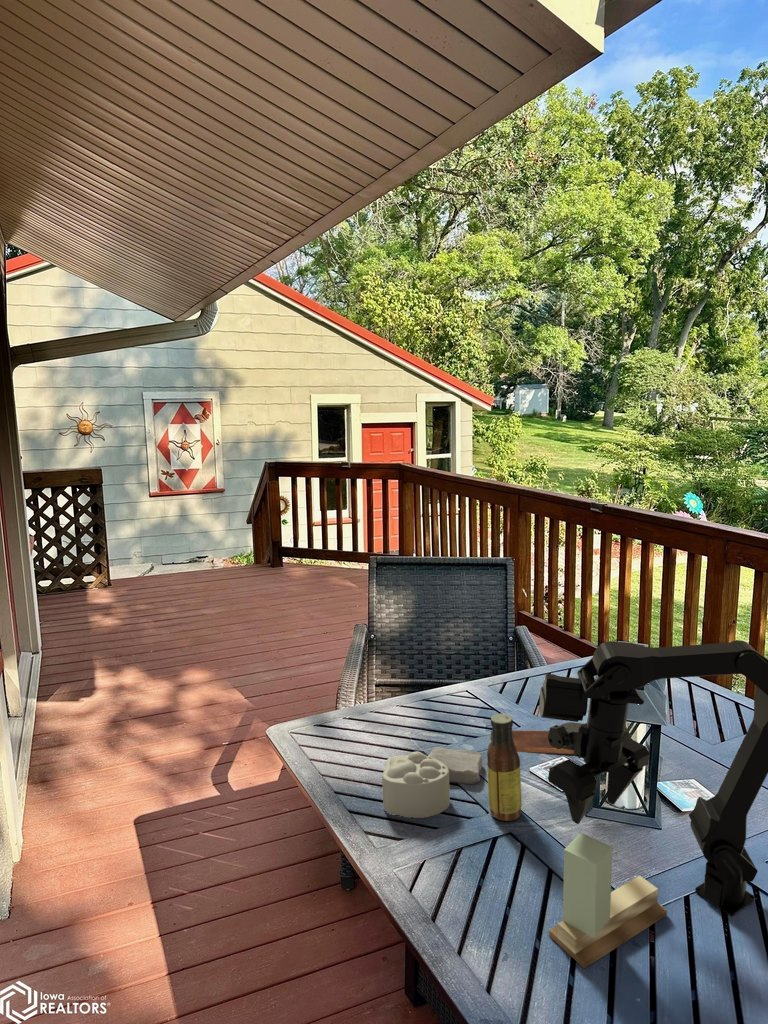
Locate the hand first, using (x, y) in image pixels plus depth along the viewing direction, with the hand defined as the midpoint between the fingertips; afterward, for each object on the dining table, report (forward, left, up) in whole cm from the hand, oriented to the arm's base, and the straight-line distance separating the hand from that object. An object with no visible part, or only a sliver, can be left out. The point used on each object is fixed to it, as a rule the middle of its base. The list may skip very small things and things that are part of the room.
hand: (593, 812), depth 111 cm
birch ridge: (+4, +7, -14) cm, 16 cm away
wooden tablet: (-27, -37, -15) cm, 48 cm away
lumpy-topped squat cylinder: (+11, -36, -14) cm, 40 cm away
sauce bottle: (-1, -23, -14) cm, 27 cm away
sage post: (+9, +7, -11) cm, 15 cm away
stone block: (-2, -41, -15) cm, 43 cm away
